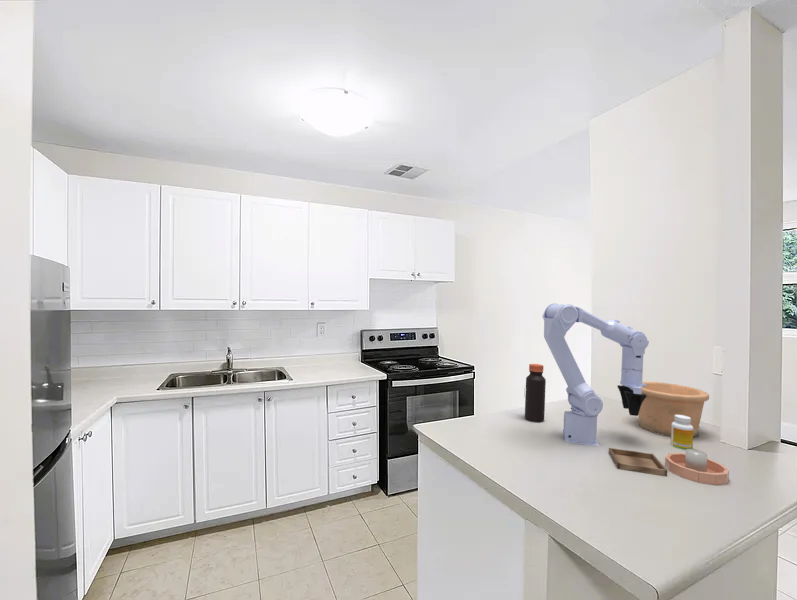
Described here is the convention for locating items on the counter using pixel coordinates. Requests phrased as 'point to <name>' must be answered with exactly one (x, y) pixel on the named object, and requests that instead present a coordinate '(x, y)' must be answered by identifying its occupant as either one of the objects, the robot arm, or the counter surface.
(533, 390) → the vinegar
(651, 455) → the tray
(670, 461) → the bowl
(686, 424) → the supplement bottle
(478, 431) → the counter surface
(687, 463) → the stone
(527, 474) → the counter surface
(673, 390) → the pottery
